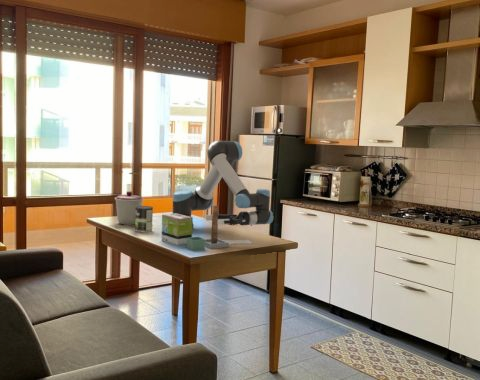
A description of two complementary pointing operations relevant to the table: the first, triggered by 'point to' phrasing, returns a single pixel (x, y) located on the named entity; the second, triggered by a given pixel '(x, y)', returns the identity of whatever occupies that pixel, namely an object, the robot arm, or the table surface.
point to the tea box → (176, 228)
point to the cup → (195, 243)
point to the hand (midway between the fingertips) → (211, 219)
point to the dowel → (214, 224)
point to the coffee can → (143, 218)
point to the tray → (216, 244)
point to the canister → (127, 207)
